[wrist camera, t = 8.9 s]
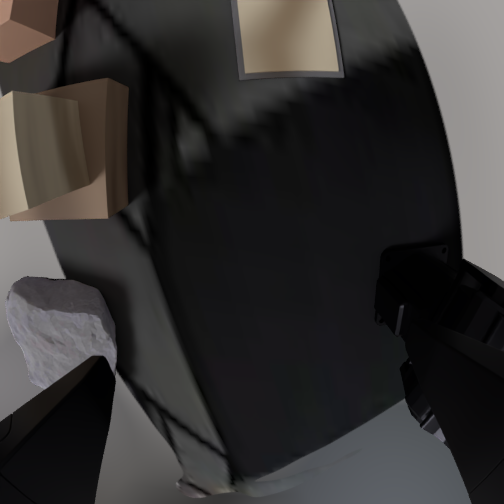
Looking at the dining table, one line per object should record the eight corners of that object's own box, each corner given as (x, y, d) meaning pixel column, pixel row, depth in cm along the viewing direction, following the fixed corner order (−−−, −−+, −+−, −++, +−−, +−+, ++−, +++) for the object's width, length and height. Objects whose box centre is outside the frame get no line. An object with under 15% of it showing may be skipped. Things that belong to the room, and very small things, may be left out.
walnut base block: (130, 88, 17) (107, 77, 13) (130, 203, 19) (108, 218, 16) (37, 105, 16) (5, 102, 12) (40, 207, 19) (10, 221, 15)
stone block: (116, 273, 23) (14, 269, 20) (107, 306, 19) (-9, 297, 16) (129, 375, 27) (43, 368, 24) (127, 411, 23) (33, 401, 20)
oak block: (77, 101, 13) (12, 90, 7) (90, 184, 15) (28, 209, 9) (16, 128, 13) (-50, 134, 7) (28, 203, 15) (-35, 232, 9)
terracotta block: (60, -9, 12) (21, -35, 7) (55, 39, 14) (9, 19, 8) (14, 15, 12) (-28, 0, 7) (9, 63, 14) (-39, 54, 8)
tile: (329, -6, 14) (330, -8, 14) (343, 78, 17) (345, 77, 16) (230, -6, 14) (230, -9, 14) (239, 80, 17) (239, 79, 16)
